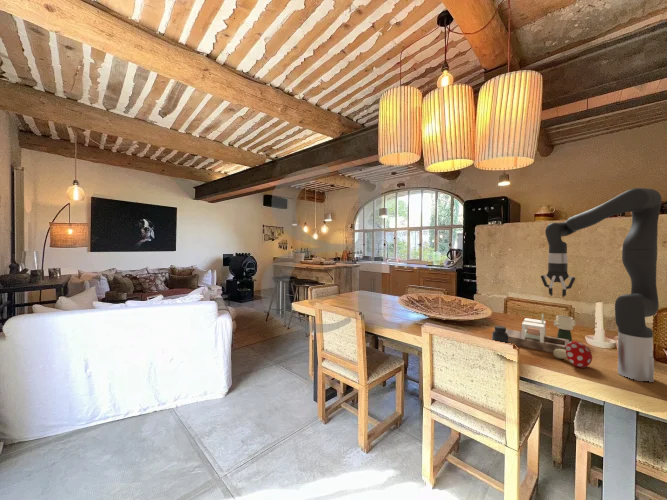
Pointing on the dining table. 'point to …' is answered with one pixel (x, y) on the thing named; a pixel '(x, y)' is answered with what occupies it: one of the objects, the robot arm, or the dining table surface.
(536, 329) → the block
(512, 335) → the track
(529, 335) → the sled
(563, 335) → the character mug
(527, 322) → the tunnel
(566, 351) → the decorative mushroom
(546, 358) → the dining table surface
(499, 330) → the supplement bottle
